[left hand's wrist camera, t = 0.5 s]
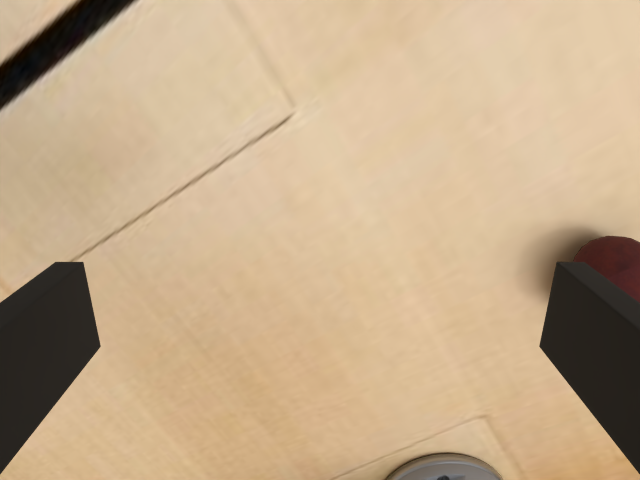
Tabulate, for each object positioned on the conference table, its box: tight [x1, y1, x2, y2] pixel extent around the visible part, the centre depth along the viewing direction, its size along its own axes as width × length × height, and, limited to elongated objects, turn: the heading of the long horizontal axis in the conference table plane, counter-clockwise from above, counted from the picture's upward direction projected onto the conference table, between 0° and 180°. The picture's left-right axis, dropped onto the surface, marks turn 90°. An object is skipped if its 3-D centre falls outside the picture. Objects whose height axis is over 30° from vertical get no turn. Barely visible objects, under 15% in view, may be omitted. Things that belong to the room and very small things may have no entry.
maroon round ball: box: [573, 236, 640, 303], centre depth 38 cm, size 7×8×7 cm
